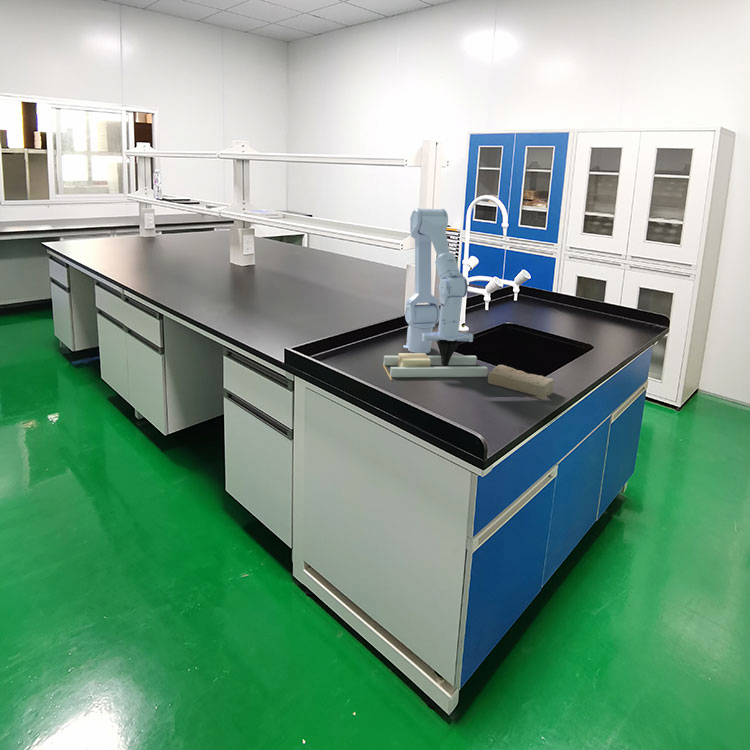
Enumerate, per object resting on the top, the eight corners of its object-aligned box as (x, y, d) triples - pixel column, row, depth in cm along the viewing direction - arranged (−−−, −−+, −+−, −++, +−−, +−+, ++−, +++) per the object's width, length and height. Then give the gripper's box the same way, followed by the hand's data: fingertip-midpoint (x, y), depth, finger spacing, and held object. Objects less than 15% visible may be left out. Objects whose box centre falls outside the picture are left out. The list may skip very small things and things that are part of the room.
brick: (553, 392, 165) (556, 376, 164) (544, 402, 158) (546, 385, 157) (496, 378, 173) (499, 363, 172) (485, 387, 167) (487, 371, 165)
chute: (382, 365, 176) (383, 355, 175) (473, 365, 182) (474, 355, 180) (391, 380, 165) (391, 369, 164) (487, 379, 171) (488, 369, 169)
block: (397, 366, 174) (398, 353, 173) (424, 366, 175) (425, 353, 174) (401, 373, 168) (402, 360, 167) (429, 373, 170) (430, 360, 169)
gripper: (428, 323, 163) (423, 369, 168) (478, 323, 166) (473, 369, 171) (421, 316, 170) (417, 361, 175) (470, 316, 172) (465, 361, 177)
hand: (444, 364), depth 173 cm, fingers closed
